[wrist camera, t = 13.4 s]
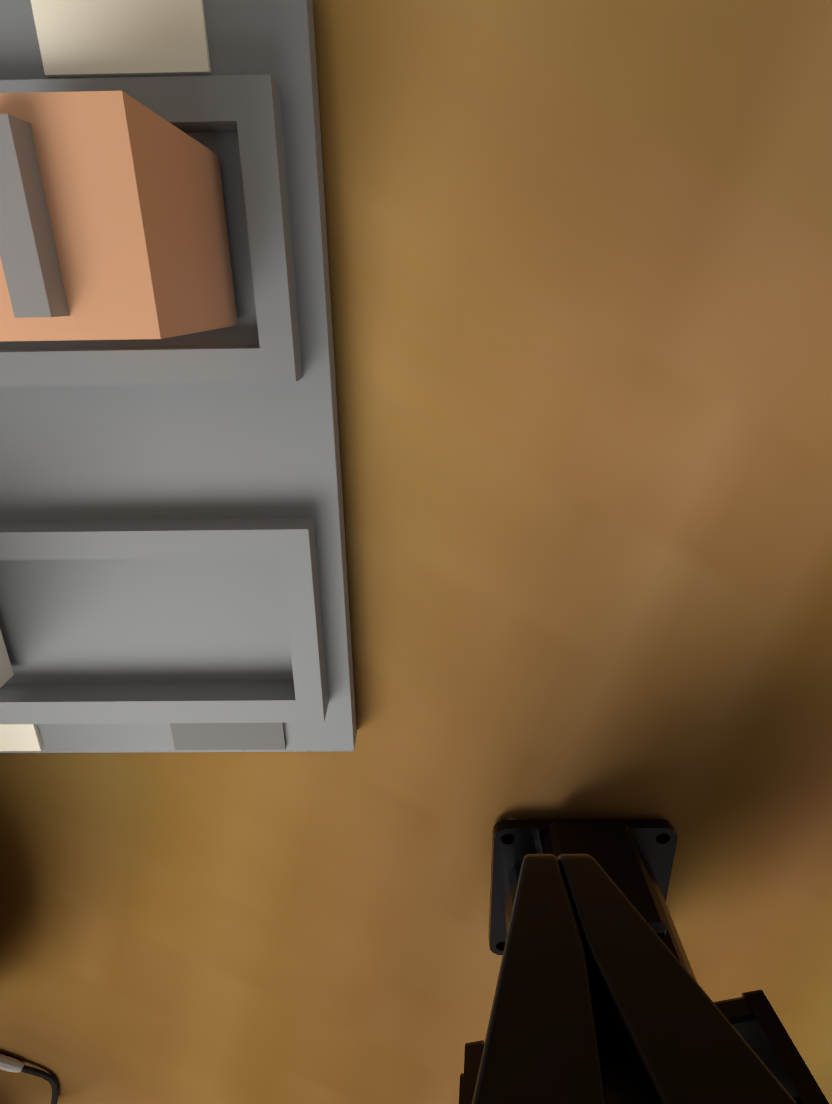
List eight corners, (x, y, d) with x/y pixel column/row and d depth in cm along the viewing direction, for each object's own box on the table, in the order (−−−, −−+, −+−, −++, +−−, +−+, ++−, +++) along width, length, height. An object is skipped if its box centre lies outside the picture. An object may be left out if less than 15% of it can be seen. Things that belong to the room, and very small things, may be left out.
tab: (237, 325, 16) (147, 341, 11) (92, 327, 16) (-69, 344, 11) (218, 155, 14) (104, 78, 9) (59, 158, 14) (-145, 83, 9)
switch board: (356, 731, 22) (350, 772, 20) (-106, 734, 22) (-155, 775, 20) (312, -1, 14) (296, -44, 13) (-388, 15, 15) (-506, -25, 13)
